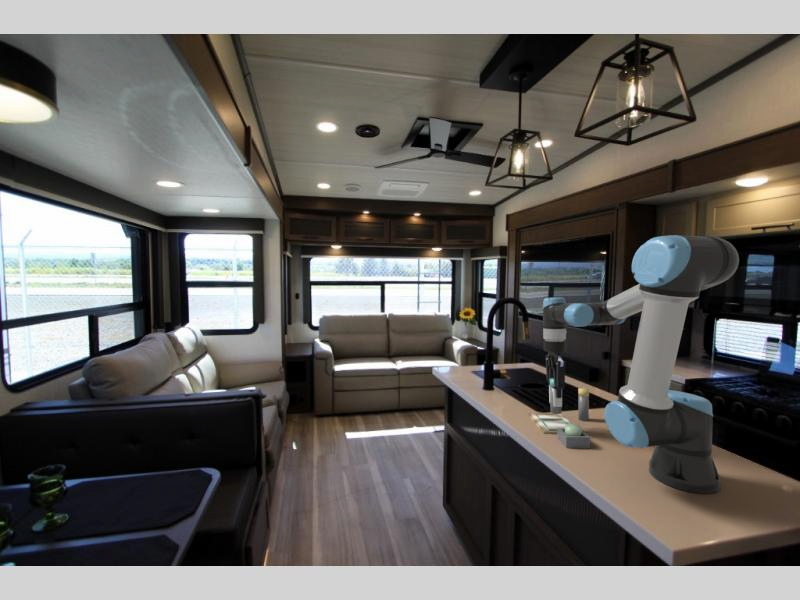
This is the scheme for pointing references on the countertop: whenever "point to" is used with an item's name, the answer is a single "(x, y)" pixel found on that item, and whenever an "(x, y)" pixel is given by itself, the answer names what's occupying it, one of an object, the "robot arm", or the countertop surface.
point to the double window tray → (549, 422)
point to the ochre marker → (583, 404)
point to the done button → (573, 430)
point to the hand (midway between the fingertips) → (555, 404)
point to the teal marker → (553, 409)
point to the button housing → (573, 439)
